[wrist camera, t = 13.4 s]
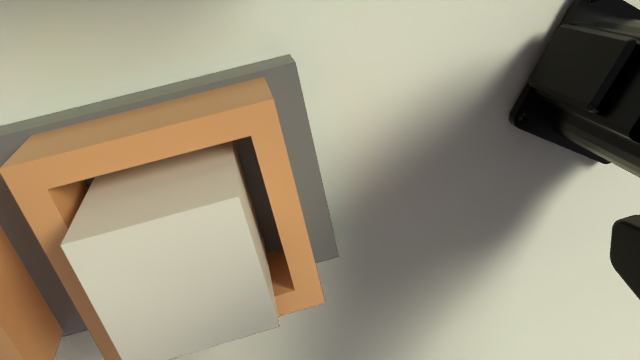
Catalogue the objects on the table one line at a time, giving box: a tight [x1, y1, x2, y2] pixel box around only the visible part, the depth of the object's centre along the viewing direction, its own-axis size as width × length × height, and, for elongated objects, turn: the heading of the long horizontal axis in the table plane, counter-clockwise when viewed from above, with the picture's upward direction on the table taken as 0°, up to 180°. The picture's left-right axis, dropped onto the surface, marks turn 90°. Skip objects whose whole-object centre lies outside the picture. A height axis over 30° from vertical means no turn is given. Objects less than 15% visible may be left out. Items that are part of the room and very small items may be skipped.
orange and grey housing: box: [0, 54, 339, 360], centre depth 17 cm, size 21×9×7 cm, turn 102°
